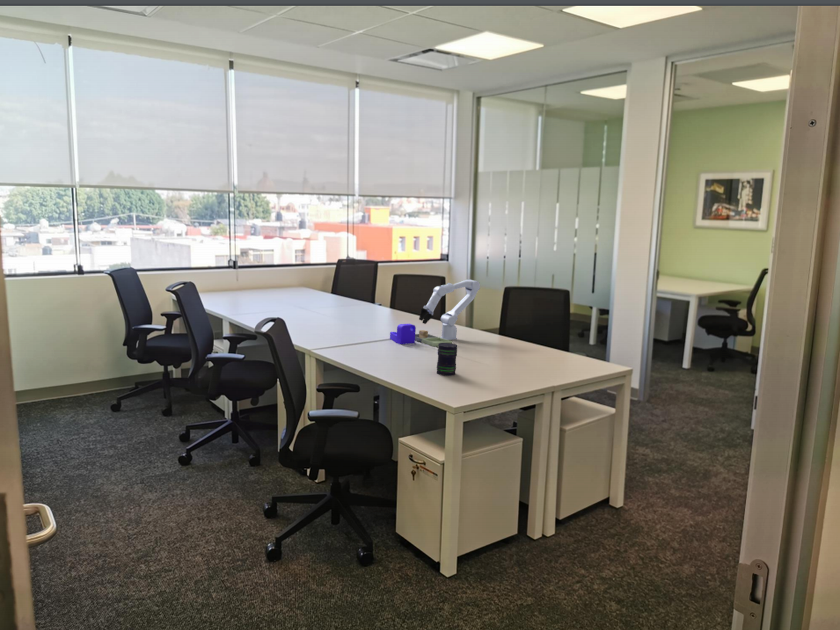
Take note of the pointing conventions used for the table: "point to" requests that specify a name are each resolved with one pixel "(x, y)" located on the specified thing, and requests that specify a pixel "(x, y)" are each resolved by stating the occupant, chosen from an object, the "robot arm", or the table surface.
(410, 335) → the bracket
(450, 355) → the storage jar
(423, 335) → the oak block
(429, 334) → the charcoal bin
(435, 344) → the olive bin
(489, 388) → the table surface
